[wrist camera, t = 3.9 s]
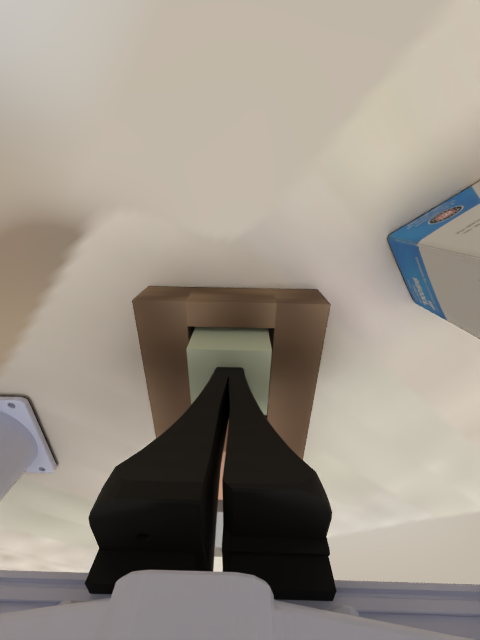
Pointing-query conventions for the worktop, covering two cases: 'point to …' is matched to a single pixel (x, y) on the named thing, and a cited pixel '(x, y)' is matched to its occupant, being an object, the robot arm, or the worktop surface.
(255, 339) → the pale green block
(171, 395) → the brown wooden long tray
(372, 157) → the worktop surface
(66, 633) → the robot arm
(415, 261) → the ink box
